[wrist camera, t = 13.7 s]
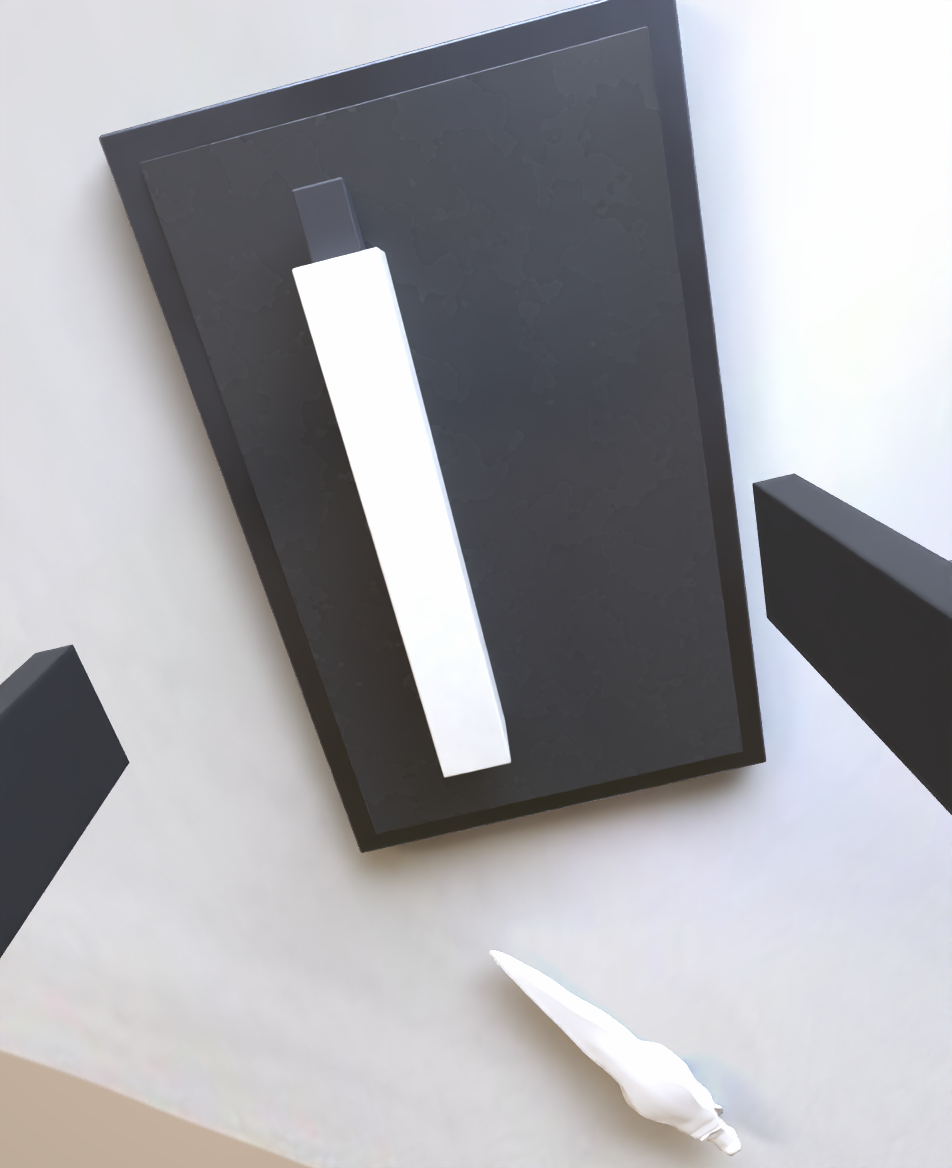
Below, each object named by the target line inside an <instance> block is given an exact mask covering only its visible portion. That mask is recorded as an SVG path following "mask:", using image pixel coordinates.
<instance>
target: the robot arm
mask: <svg viewBox="0 0 952 1168" xmlns="http://www.w3.org/2000/svg"><path fill="white" fill-rule="evenodd" d="M753 493H754V502H755V511H756V520H757V530H758V539H759V548H760V557H761V566H762V575H763V585H764V594H765V603H766V612H767V618H768V619H769V620H770V621H771V622H772V624H773V625H774V626H775V627H776V628H777V629H778V630H779V631H780V632H781V633H782V634H783V635H784V636H785V637H786V638H787V640H788V641H789V642H790V643H791V644H792V645H793V646H794V647H795V648H796V649H797V650H798V651H799V652H800V653H801V655H802V656H803V657H804V658H805V659H806V660H807V661H808V662H809V663H810V664H811V665H812V666H813V667H814V668H815V669H816V671H817V672H818V673H819V674H820V675H821V676H822V677H823V678H824V679H825V680H826V681H827V682H828V683H829V684H830V686H831V687H832V688H833V689H834V690H835V691H836V692H837V693H838V694H839V695H840V696H841V697H842V698H843V699H844V700H845V702H846V703H847V704H848V705H849V706H850V707H851V708H852V709H853V710H854V711H855V712H856V713H857V714H858V715H859V717H860V718H861V719H862V720H863V721H864V722H865V723H866V724H867V725H868V726H869V727H870V728H871V729H872V730H873V731H874V733H875V734H876V735H877V736H878V737H879V738H880V739H881V740H882V741H883V742H884V743H885V744H886V745H887V746H888V748H889V749H890V750H891V751H892V752H893V753H894V754H895V755H896V756H897V757H898V758H899V759H900V760H901V761H902V762H903V764H904V765H905V766H906V767H907V768H908V769H909V770H910V771H911V772H912V773H913V774H914V775H915V776H916V777H917V779H918V780H919V781H920V782H921V783H922V784H923V785H924V786H925V787H926V788H927V789H928V790H929V791H930V792H931V793H932V795H933V796H934V797H935V798H936V799H937V800H938V801H939V802H940V803H941V804H942V805H943V806H944V807H945V808H946V810H947V811H948V812H949V813H950V814H951V815H952V560H950V561H947V560H946V559H944V558H942V557H940V556H939V555H937V554H935V553H933V552H932V551H930V550H928V549H926V548H925V547H923V546H921V545H919V544H918V543H916V542H914V541H912V540H910V539H909V538H907V537H905V536H903V535H902V534H900V533H898V532H896V531H895V530H893V529H891V528H889V527H888V526H886V525H884V524H882V523H880V522H879V521H877V520H875V519H873V518H872V517H870V516H868V515H866V514H865V513H863V512H861V511H859V510H858V509H856V508H854V507H852V506H851V505H849V504H847V503H845V502H843V501H842V500H840V499H838V498H836V497H835V496H833V495H831V494H829V493H828V492H826V491H824V490H822V489H821V488H819V487H817V486H815V485H814V484H812V483H810V482H808V481H806V480H805V479H803V478H801V477H799V476H798V475H796V474H791V475H786V476H782V477H778V478H774V479H769V480H765V481H761V482H757V483H753ZM128 764H129V761H128V759H127V756H126V754H125V752H124V750H123V748H122V746H121V744H120V742H119V740H118V738H117V736H116V734H115V731H114V729H113V727H112V725H111V723H110V721H109V719H108V717H107V715H106V713H105V711H104V709H103V707H102V704H101V702H100V700H99V698H98V696H97V694H96V692H95V690H94V688H93V686H92V684H91V682H90V679H89V677H88V675H87V673H86V671H85V669H84V667H83V665H82V663H81V661H80V659H79V657H78V655H77V652H76V650H75V648H74V646H73V645H68V646H64V647H60V648H56V649H52V650H47V651H43V652H39V653H35V654H34V655H33V656H32V657H31V658H29V659H28V660H27V661H26V662H25V663H24V664H23V665H22V666H21V667H20V668H18V669H17V670H16V671H15V672H14V673H13V674H12V675H11V676H10V677H9V678H7V679H6V680H5V681H4V682H3V683H2V684H1V685H0V958H1V956H2V955H3V953H4V952H5V950H6V949H7V947H8V946H9V944H10V943H11V941H12V940H13V938H14V937H15V935H16V934H17V932H18V931H19V929H20V928H21V926H22V925H23V923H24V922H25V920H26V919H27V917H28V915H29V914H30V912H31V911H32V909H33V908H34V906H35V905H36V903H37V902H38V900H39V899H40V897H41V896H42V894H43V893H44V891H45V890H46V888H47V887H48V885H49V884H50V882H51V881H52V879H53V878H54V876H55V875H56V873H57V871H58V870H59V868H60V867H61V865H62V864H63V862H64V861H65V859H66V858H67V856H68V855H69V853H70V852H71V850H72V849H73V847H74V846H75V844H76V843H77V841H78V840H79V838H80V837H81V835H82V834H83V832H84V831H85V829H86V827H87V826H88V824H89V823H90V821H91V820H92V818H93V817H94V815H95V814H96V812H97V811H98V809H99V808H100V806H101V805H102V803H103V802H104V800H105V799H106V797H107V796H108V794H109V793H110V791H111V790H112V788H113V787H114V785H115V783H116V782H117V780H118V779H119V777H120V776H121V774H122V773H123V771H124V770H125V768H126V767H127V765H128Z"/></svg>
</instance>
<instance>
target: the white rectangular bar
mask: <svg viewBox="0 0 952 1168" xmlns="http://www.w3.org/2000/svg"><path fill="white" fill-rule="evenodd" d="M292 195H293V199H294V202H295V206H296V209H297V213H298V216H299V220H300V223H301V226H302V230H303V233H304V237H305V240H306V244H307V247H308V251H309V254H310V257H311V261H312V263H313V264H309V265H305V266H301V267H298V268H294V269H293V270H292V272H293V276H294V279H295V282H296V286H297V289H298V292H299V296H300V299H301V302H302V306H303V309H304V312H305V316H306V319H307V322H308V326H309V329H310V332H311V336H312V339H313V342H314V346H315V349H316V352H317V356H318V359H319V362H320V366H321V369H322V372H323V376H324V379H325V382H326V386H327V389H328V392H329V396H330V399H331V402H332V406H333V409H334V412H335V416H336V419H337V422H338V426H339V429H340V432H341V436H342V439H343V442H344V446H345V449H346V452H347V456H348V459H349V462H350V466H351V469H352V472H353V476H354V479H355V482H356V486H357V489H358V492H359V496H360V499H361V502H362V506H363V509H364V512H365V516H366V519H367V522H368V526H369V529H370V532H371V536H372V539H373V542H374V546H375V549H376V552H377V556H378V559H379V562H380V566H381V569H382V572H383V576H384V579H385V582H386V586H387V589H388V592H389V596H390V599H391V602H392V606H393V609H394V612H395V616H396V619H397V622H398V626H399V629H400V632H401V636H402V639H403V642H404V646H405V649H406V652H407V656H408V659H409V662H410V666H411V669H412V672H413V676H414V679H415V682H416V686H417V689H418V692H419V696H420V699H421V702H422V706H423V709H424V712H425V716H426V719H427V722H428V726H429V729H430V732H431V736H432V739H433V742H434V746H435V749H436V752H437V756H438V759H439V762H440V766H441V769H442V772H443V776H444V777H445V778H446V777H451V776H455V775H459V774H464V773H468V772H473V771H477V770H482V769H486V768H490V767H495V766H499V765H504V764H508V763H511V757H510V750H509V744H508V737H507V730H506V724H505V718H504V714H503V710H502V706H501V702H500V699H499V695H498V691H497V687H496V683H495V679H494V675H493V671H492V667H491V664H490V660H489V656H488V652H487V648H486V644H485V640H484V636H483V632H482V629H481V625H480V621H479V617H478V613H477V609H476V605H475V601H474V597H473V593H472V590H471V586H470V582H469V578H468V574H467V570H466V566H465V562H464V558H463V555H462V551H461V547H460V543H459V539H458V535H457V531H456V527H455V523H454V520H453V516H452V512H451V508H450V504H449V500H448V496H447V492H446V488H445V485H444V481H443V477H442V473H441V469H440V465H439V461H438V457H437V453H436V450H435V446H434V442H433V438H432V434H431V430H430V426H429V422H428V418H427V415H426V411H425V407H424V403H423V399H422V395H421V391H420V387H419V383H418V379H417V376H416V372H415V368H414V364H413V360H412V356H411V352H410V348H409V344H408V341H407V337H406V333H405V329H404V325H403V321H402V317H401V313H400V309H399V306H398V302H397V298H396V294H395V290H394V286H393V282H392V278H391V274H390V271H389V267H388V263H387V259H386V255H385V252H384V251H382V250H380V249H378V248H372V249H368V250H366V249H365V245H364V241H363V237H362V234H361V230H360V226H359V222H358V218H357V215H356V211H355V207H354V203H353V200H352V196H351V192H350V188H349V185H348V183H347V182H346V181H345V180H344V179H343V178H342V177H339V178H335V179H331V180H327V181H324V182H320V183H316V184H312V185H308V186H304V187H301V188H297V189H293V190H292Z"/></svg>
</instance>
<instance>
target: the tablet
mask: <svg viewBox="0 0 952 1168" xmlns="http://www.w3.org/2000/svg"><path fill="white" fill-rule="evenodd" d="M99 140H100V143H101V146H102V148H103V151H104V154H105V157H106V159H107V162H108V165H109V168H110V170H111V173H112V176H113V178H114V181H115V184H116V187H117V189H118V192H119V195H120V198H121V200H122V203H123V206H124V208H125V211H126V214H127V217H128V219H129V222H130V225H131V228H132V230H133V233H134V236H135V238H136V241H137V244H138V247H139V249H140V252H141V255H142V258H143V260H144V263H145V266H146V268H147V271H148V274H149V277H150V279H151V282H152V285H153V288H154V290H155V293H156V296H157V298H158V301H159V304H160V307H161V309H162V312H163V315H164V318H165V320H166V323H167V326H168V328H169V331H170V334H171V337H172V339H173V342H174V345H175V348H176V350H177V353H178V356H179V358H180V361H181V364H182V367H183V369H184V372H185V375H186V378H187V380H188V383H189V386H190V388H191V391H192V394H193V397H194V399H195V402H196V405H197V408H198V410H199V413H200V416H201V418H202V421H203V424H204V427H205V429H206V432H207V435H208V438H209V440H210V443H211V446H212V448H213V451H214V454H215V457H216V459H217V462H218V465H219V468H220V470H221V473H222V476H223V478H224V481H225V484H226V487H227V489H228V492H229V495H230V498H231V500H232V503H233V506H234V508H235V511H236V514H237V517H238V519H239V522H240V525H241V528H242V530H243V533H244V536H245V538H246V541H247V544H248V547H249V549H250V552H251V555H252V557H253V560H254V563H255V566H256V568H257V571H258V574H259V577H260V579H261V582H262V585H263V587H264V590H265V593H266V596H267V598H268V601H269V604H270V607H271V609H272V612H273V615H274V617H275V620H276V623H277V626H278V628H279V631H280V634H281V637H282V639H283V642H284V645H285V647H286V650H287V653H288V656H289V658H290V661H291V664H292V667H293V669H294V672H295V675H296V677H297V680H298V683H299V686H300V688H301V691H302V694H303V697H304V699H305V702H306V705H307V707H308V710H309V713H310V716H311V718H312V721H313V724H314V727H315V729H316V732H317V735H318V737H319V740H320V743H321V746H322V748H323V751H324V754H325V757H326V759H327V762H328V765H329V767H330V770H331V773H332V776H333V778H334V781H335V784H336V787H337V789H338V792H339V795H340V797H341V800H342V803H343V806H344V808H345V811H346V814H347V817H348V819H349V822H350V825H351V827H352V830H353V833H354V836H355V838H356V841H357V844H358V847H359V849H360V852H361V853H364V852H368V851H373V850H377V849H382V848H386V847H391V846H395V845H399V844H404V843H408V842H413V841H417V840H422V839H426V838H430V837H435V836H439V835H444V834H448V833H453V832H457V831H462V830H466V829H470V828H475V827H479V826H484V825H488V824H493V823H497V822H502V821H506V820H510V819H515V818H519V817H524V816H528V815H533V814H537V813H541V812H546V811H550V810H555V809H559V808H564V807H568V806H573V805H577V804H581V803H586V802H590V801H595V800H599V799H604V798H608V797H612V796H617V795H621V794H626V793H630V792H635V791H639V790H644V789H648V788H652V787H657V786H661V785H666V784H670V783H675V782H679V781H684V780H688V779H692V778H697V777H701V776H706V775H710V774H715V773H719V772H723V771H728V770H732V769H737V768H741V767H746V766H750V765H755V764H759V763H763V762H766V755H765V746H764V738H763V729H762V721H761V713H760V704H759V696H758V687H757V679H756V671H755V662H754V654H753V645H752V637H751V629H750V620H749V612H748V604H747V595H746V587H745V578H744V570H743V562H742V553H741V545H740V536H739V528H738V520H737V511H736V503H735V495H734V486H733V478H732V469H731V461H730V453H729V444H728V436H727V427H726V419H725V411H724V402H723V394H722V385H721V377H720V369H719V360H718V352H717V344H716V335H715V327H714V318H713V310H712V302H711V293H710V285H709V276H708V268H707V260H706V251H705V243H704V235H703V226H702V218H701V209H700V201H699V193H698V184H697V176H696V167H695V159H694V151H693V142H692V134H691V125H690V117H689V109H688V100H687V92H686V84H685V75H684V67H683V58H682V50H681V42H680V33H679V25H678V16H677V8H676V0H599V1H595V2H591V3H588V4H584V5H580V6H577V7H573V8H569V9H566V10H562V11H558V12H554V13H551V14H547V15H543V16H540V17H536V18H532V19H529V20H525V21H521V22H518V23H514V24H510V25H506V26H503V27H499V28H495V29H492V30H488V31H484V32H481V33H477V34H473V35H470V36H466V37H462V38H459V39H455V40H451V41H447V42H444V43H440V44H436V45H433V46H429V47H425V48H422V49H418V50H414V51H411V52H407V53H403V54H399V55H396V56H392V57H388V58H385V59H381V60H377V61H374V62H370V63H366V64H363V65H359V66H355V67H351V68H348V69H344V70H340V71H337V72H333V73H329V74H326V75H322V76H318V77H315V78H311V79H307V80H303V81H300V82H296V83H292V84H289V85H285V86H281V87H278V88H274V89H270V90H267V91H263V92H259V93H256V94H252V95H248V96H244V97H241V98H237V99H233V100H230V101H226V102H222V103H219V104H215V105H211V106H208V107H204V108H200V109H196V110H193V111H189V112H185V113H182V114H178V115H174V116H171V117H167V118H163V119H160V120H156V121H152V122H148V123H145V124H141V125H137V126H134V127H130V128H126V129H123V130H119V131H115V132H112V133H108V134H104V135H101V136H100V137H99ZM339 177H342V178H343V179H344V180H345V181H346V182H347V183H348V185H349V188H350V192H351V196H352V200H353V203H354V207H355V211H356V215H357V218H358V222H359V226H360V230H361V234H362V237H363V241H364V245H365V249H366V250H368V249H372V248H378V249H380V250H382V251H384V252H385V255H386V259H387V263H388V267H389V271H390V274H391V278H392V282H393V286H394V290H395V294H396V298H397V302H398V306H399V309H400V313H401V317H402V321H403V325H404V329H405V333H406V337H407V341H408V344H409V348H410V352H411V356H412V360H413V364H414V368H415V372H416V376H417V379H418V383H419V387H420V391H421V395H422V399H423V403H424V407H425V411H426V415H427V418H428V422H429V426H430V430H431V434H432V438H433V442H434V446H435V450H436V453H437V457H438V461H439V465H440V469H441V473H442V477H443V481H444V485H445V488H446V492H447V496H448V500H449V504H450V508H451V512H452V516H453V520H454V523H455V527H456V531H457V535H458V539H459V543H460V547H461V551H462V555H463V558H464V562H465V566H466V570H467V574H468V578H469V582H470V586H471V590H472V593H473V597H474V601H475V605H476V609H477V613H478V617H479V621H480V625H481V629H482V632H483V636H484V640H485V644H486V648H487V652H488V656H489V660H490V664H491V667H492V671H493V675H494V679H495V683H496V687H497V691H498V695H499V699H500V702H501V706H502V710H503V714H504V718H505V724H506V730H507V737H508V744H509V750H510V757H511V763H508V764H504V765H499V766H495V767H490V768H486V769H482V770H477V771H473V772H468V773H464V774H459V775H455V776H451V777H446V778H445V777H444V776H443V772H442V769H441V766H440V762H439V759H438V756H437V752H436V749H435V746H434V742H433V739H432V736H431V732H430V729H429V726H428V722H427V719H426V716H425V712H424V709H423V706H422V702H421V699H420V696H419V692H418V689H417V686H416V682H415V679H414V676H413V672H412V669H411V666H410V662H409V659H408V656H407V652H406V649H405V646H404V642H403V639H402V636H401V632H400V629H399V626H398V622H397V619H396V616H395V612H394V609H393V606H392V602H391V599H390V596H389V592H388V589H387V586H386V582H385V579H384V576H383V572H382V569H381V566H380V562H379V559H378V556H377V552H376V549H375V546H374V542H373V539H372V536H371V532H370V529H369V526H368V522H367V519H366V516H365V512H364V509H363V506H362V502H361V499H360V496H359V492H358V489H357V486H356V482H355V479H354V476H353V472H352V469H351V466H350V462H349V459H348V456H347V452H346V449H345V446H344V442H343V439H342V436H341V432H340V429H339V426H338V422H337V419H336V416H335V412H334V409H333V406H332V402H331V399H330V396H329V392H328V389H327V386H326V382H325V379H324V376H323V372H322V369H321V366H320V362H319V359H318V356H317V352H316V349H315V346H314V342H313V339H312V336H311V332H310V329H309V326H308V322H307V319H306V316H305V312H304V309H303V306H302V302H301V299H300V296H299V292H298V289H297V286H296V282H295V279H294V276H293V272H292V270H293V269H294V268H298V267H301V266H305V265H309V264H313V263H312V261H311V257H310V254H309V251H308V247H307V244H306V240H305V237H304V233H303V230H302V226H301V223H300V220H299V216H298V213H297V209H296V206H295V202H294V199H293V195H292V190H293V189H297V188H301V187H304V186H308V185H312V184H316V183H320V182H324V181H327V180H331V179H335V178H339Z"/></svg>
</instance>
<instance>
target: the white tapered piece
mask: <svg viewBox="0 0 952 1168" xmlns="http://www.w3.org/2000/svg"><path fill="white" fill-rule="evenodd" d="M490 956H491V957H492V958H493V959H494V960H495V961H496V962H497V964H498V965H499V966H500V967H501V968H502V969H503V970H504V971H505V972H506V973H507V974H508V975H509V976H510V977H511V978H512V979H513V980H514V981H515V982H516V984H517V985H518V986H519V987H520V988H521V989H522V990H523V991H524V992H525V993H526V994H527V995H528V996H529V997H530V998H531V999H532V1000H533V1001H534V1002H535V1003H536V1004H537V1005H538V1006H539V1007H540V1008H541V1009H542V1010H543V1011H544V1012H545V1013H546V1014H547V1015H548V1016H549V1017H550V1018H551V1019H552V1020H553V1021H554V1022H555V1023H556V1024H557V1025H558V1026H559V1027H560V1028H561V1029H562V1030H563V1031H564V1032H565V1033H566V1034H567V1035H568V1036H569V1037H570V1038H571V1040H572V1041H573V1042H574V1043H575V1044H576V1045H577V1046H578V1047H579V1048H580V1049H581V1050H582V1051H583V1052H584V1053H585V1054H586V1055H587V1056H588V1057H589V1058H591V1059H592V1060H593V1061H594V1062H595V1063H597V1064H598V1065H599V1066H600V1067H601V1068H603V1069H604V1070H605V1071H606V1072H607V1073H608V1074H609V1075H610V1076H611V1077H613V1078H614V1079H615V1080H616V1081H617V1082H618V1083H619V1084H620V1087H621V1091H622V1094H623V1096H624V1098H625V1101H626V1102H627V1104H628V1105H629V1106H630V1107H631V1108H633V1109H634V1110H635V1111H636V1112H637V1113H639V1114H640V1115H641V1116H643V1117H645V1118H647V1119H649V1120H653V1121H657V1122H662V1123H665V1124H668V1125H671V1126H674V1127H675V1128H676V1129H677V1130H679V1131H681V1132H682V1133H685V1134H688V1135H691V1136H692V1137H694V1138H696V1139H699V1140H700V1141H704V1140H707V1141H710V1142H712V1143H714V1144H715V1145H716V1146H717V1147H718V1148H719V1149H720V1150H722V1151H724V1152H725V1153H726V1154H727V1155H729V1156H732V1155H734V1154H735V1153H737V1152H739V1151H740V1150H741V1144H740V1140H739V1137H738V1136H736V1133H735V1130H734V1129H733V1128H731V1127H729V1126H727V1125H726V1124H725V1123H724V1122H723V1120H721V1119H720V1118H719V1116H718V1115H720V1114H721V1113H723V1112H722V1111H723V1109H722V1107H721V1106H720V1105H718V1104H716V1103H714V1101H713V1098H712V1096H711V1093H710V1092H709V1091H708V1090H707V1089H706V1088H705V1087H704V1086H703V1085H701V1084H700V1083H699V1082H698V1081H697V1080H696V1079H695V1077H694V1076H693V1075H692V1073H691V1072H690V1070H689V1068H688V1066H687V1064H686V1063H685V1062H683V1061H682V1060H681V1059H680V1058H679V1057H678V1056H676V1055H675V1054H674V1053H673V1052H672V1051H670V1050H669V1049H668V1048H666V1047H665V1046H663V1045H661V1044H659V1043H655V1042H649V1041H643V1040H638V1039H637V1038H636V1037H635V1036H634V1035H633V1034H632V1033H631V1032H630V1031H628V1030H627V1029H626V1028H625V1027H624V1026H623V1025H621V1024H620V1023H619V1022H617V1021H616V1020H615V1019H613V1018H612V1017H611V1016H609V1015H608V1014H607V1013H606V1012H604V1011H602V1010H601V1009H599V1008H597V1007H595V1006H593V1005H591V1004H590V1003H588V1002H586V1001H584V1000H582V999H581V998H579V997H577V996H575V995H573V994H571V993H570V992H569V991H568V990H566V989H565V988H563V987H562V986H561V985H559V984H558V983H557V982H555V981H554V980H552V979H550V978H549V977H547V976H546V975H544V974H542V973H541V972H539V971H537V970H535V969H533V968H532V967H530V966H528V965H526V964H524V963H522V962H520V961H518V960H516V959H514V958H513V957H511V956H509V955H507V954H504V953H501V952H499V951H496V950H490Z"/></svg>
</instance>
